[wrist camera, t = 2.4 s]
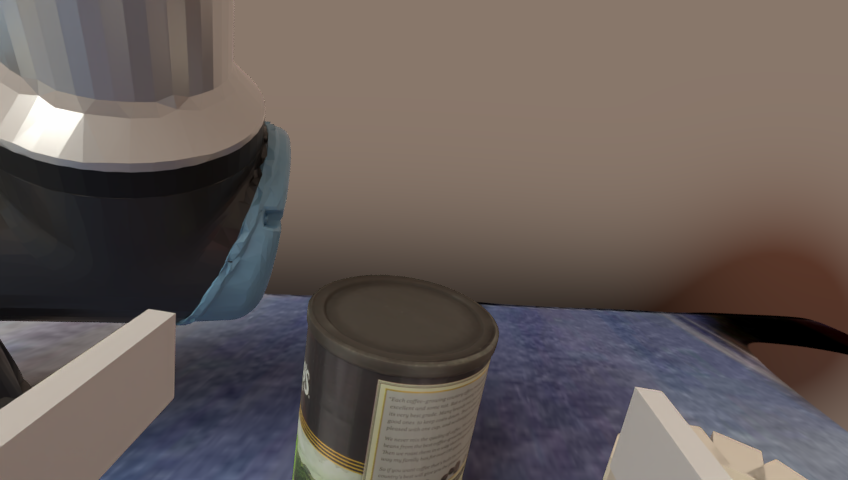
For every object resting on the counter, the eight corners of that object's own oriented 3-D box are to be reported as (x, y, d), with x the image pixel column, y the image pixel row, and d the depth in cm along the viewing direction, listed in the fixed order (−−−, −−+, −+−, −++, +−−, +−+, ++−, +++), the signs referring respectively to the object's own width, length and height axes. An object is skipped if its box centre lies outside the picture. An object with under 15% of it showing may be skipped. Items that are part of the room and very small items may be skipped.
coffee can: (252, 566, 25) (271, 331, 21) (323, 438, 35) (345, 262, 31) (440, 623, 24) (498, 385, 20) (459, 474, 34) (500, 295, 30)
